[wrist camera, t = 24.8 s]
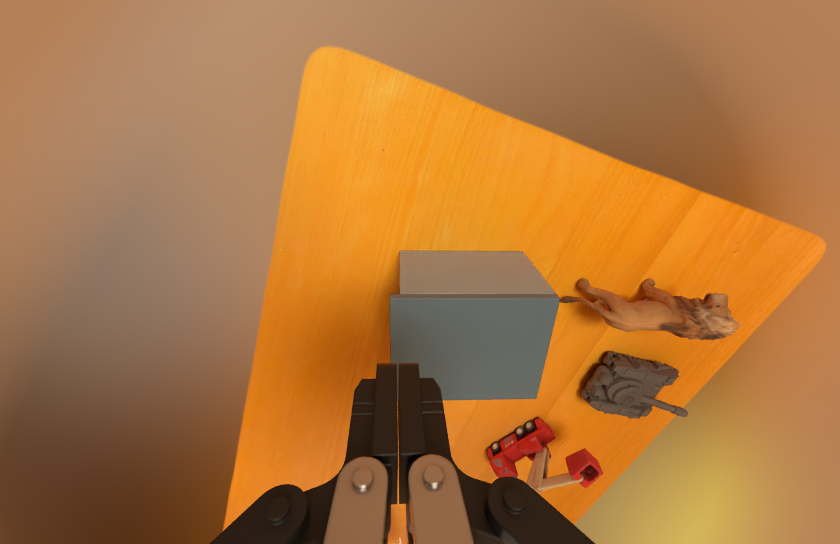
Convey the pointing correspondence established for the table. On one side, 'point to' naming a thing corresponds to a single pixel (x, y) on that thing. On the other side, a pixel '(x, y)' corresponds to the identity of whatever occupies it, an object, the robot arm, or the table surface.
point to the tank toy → (629, 386)
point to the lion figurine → (664, 312)
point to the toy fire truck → (540, 458)
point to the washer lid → (474, 341)
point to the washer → (470, 273)
